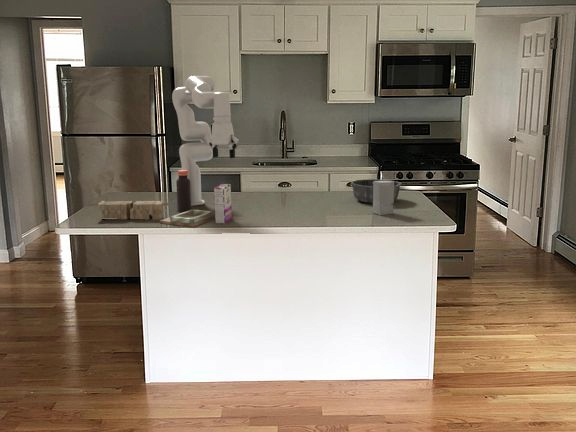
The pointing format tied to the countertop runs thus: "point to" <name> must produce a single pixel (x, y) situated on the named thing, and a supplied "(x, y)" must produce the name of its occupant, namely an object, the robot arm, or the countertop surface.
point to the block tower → (131, 209)
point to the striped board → (190, 218)
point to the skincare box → (383, 197)
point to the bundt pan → (369, 189)
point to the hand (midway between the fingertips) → (223, 157)
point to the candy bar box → (223, 203)
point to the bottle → (183, 191)
